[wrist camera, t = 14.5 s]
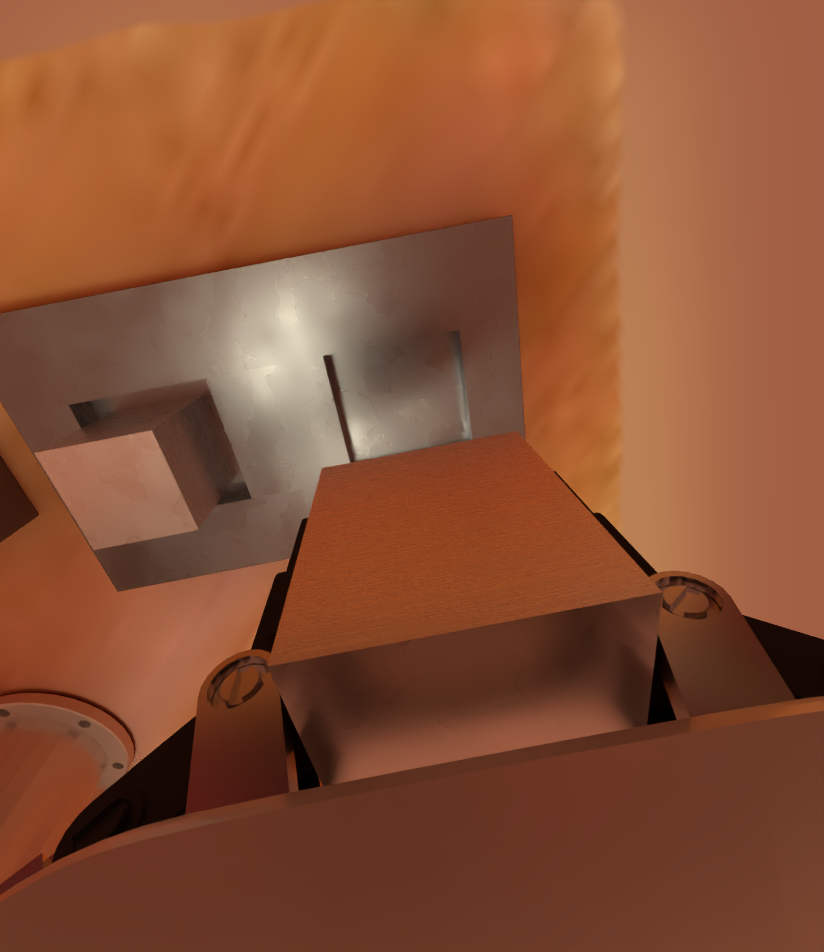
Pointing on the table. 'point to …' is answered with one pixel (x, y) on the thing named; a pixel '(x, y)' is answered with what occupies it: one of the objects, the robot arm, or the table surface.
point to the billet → (458, 613)
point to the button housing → (12, 504)
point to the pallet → (282, 375)
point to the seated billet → (141, 471)
